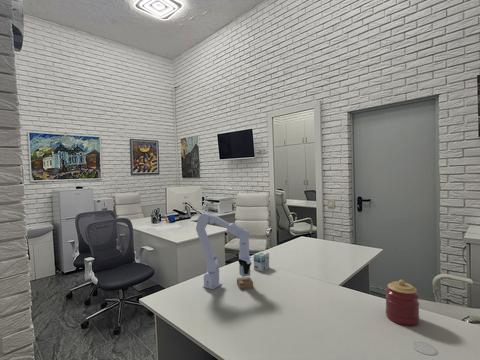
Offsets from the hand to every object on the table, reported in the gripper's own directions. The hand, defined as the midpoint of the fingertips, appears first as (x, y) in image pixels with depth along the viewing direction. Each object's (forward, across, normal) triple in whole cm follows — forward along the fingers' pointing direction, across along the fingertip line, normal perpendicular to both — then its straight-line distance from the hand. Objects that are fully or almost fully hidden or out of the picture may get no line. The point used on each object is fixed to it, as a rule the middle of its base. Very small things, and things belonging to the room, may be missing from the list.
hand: (244, 272), depth 158 cm
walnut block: (+8, 0, 0) cm, 8 cm away
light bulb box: (+8, +23, -22) cm, 33 cm away
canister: (+8, -60, -53) cm, 81 cm away
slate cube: (+2, 0, 0) cm, 2 cm away
